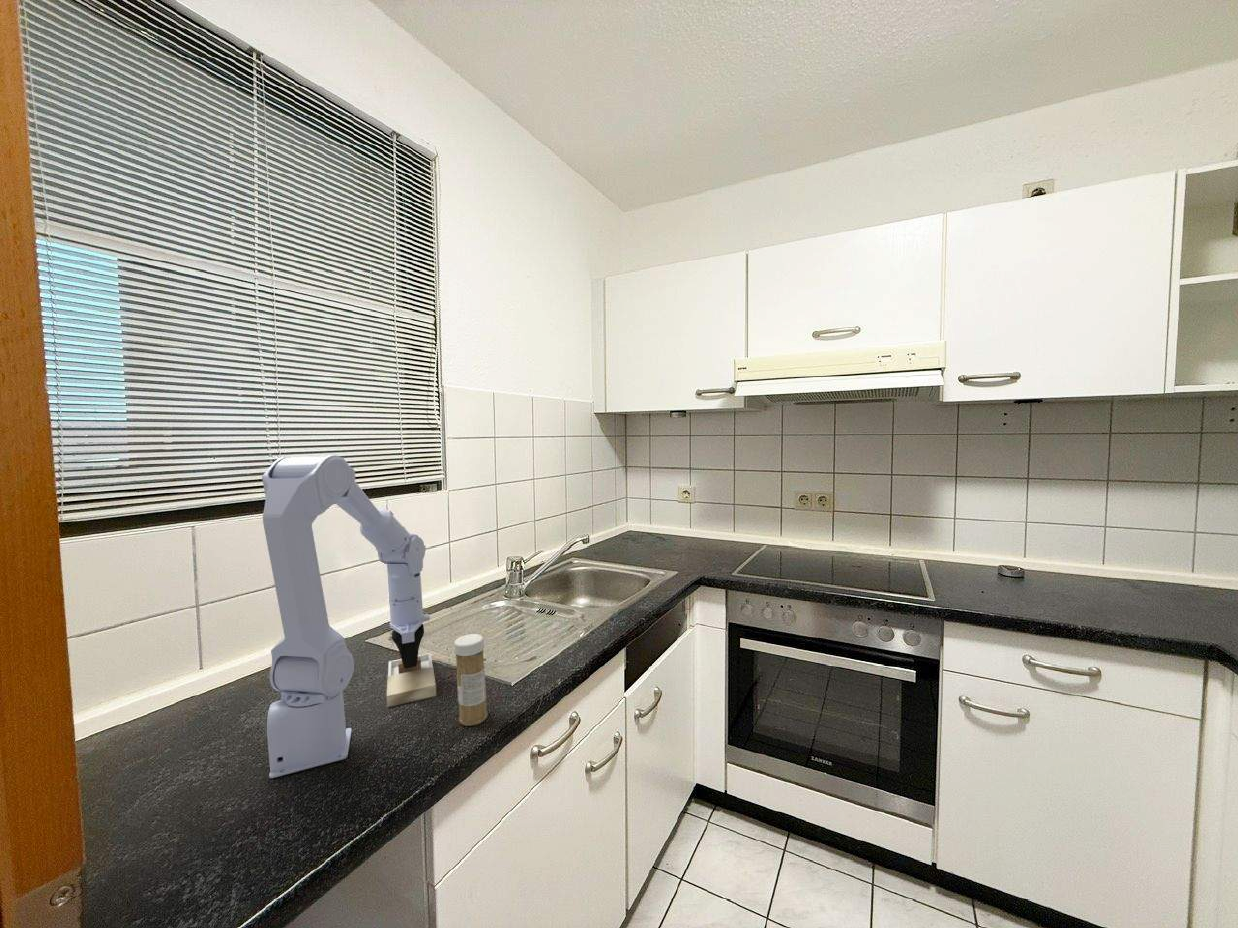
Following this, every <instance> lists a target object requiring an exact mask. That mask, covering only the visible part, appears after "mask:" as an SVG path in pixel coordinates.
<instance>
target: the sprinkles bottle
mask: <svg viewBox="0 0 1238 928" xmlns="http://www.w3.org/2000/svg"><path fill="white" fill-rule="evenodd" d="M484 640H485V639H484V637H483V636H482V635H481V634H478V633H471V634H466V635H465V634H464V635H461V636H459V637H458V638H456V639H455V640H454V643H453V646H454V648H453V649H454V654H455V656H456V657H455V660H456V683H457V684H456V685H457V687H456V688H457V701H458V702H457V703H458V709H459V710H458V712H459V716H458V718H459V719H458V721H459V723H460V724H461V725H463V726H468V727H469V726H476V725H479V724H481V723H483V722H484V721H485V720H486V719H487V718H488V711H487V700H486V699H487V687H486V670H485V668H486V667H485V663H484V661H485V660H484V659H485V658H484V648H485V644H484Z"/></svg>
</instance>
